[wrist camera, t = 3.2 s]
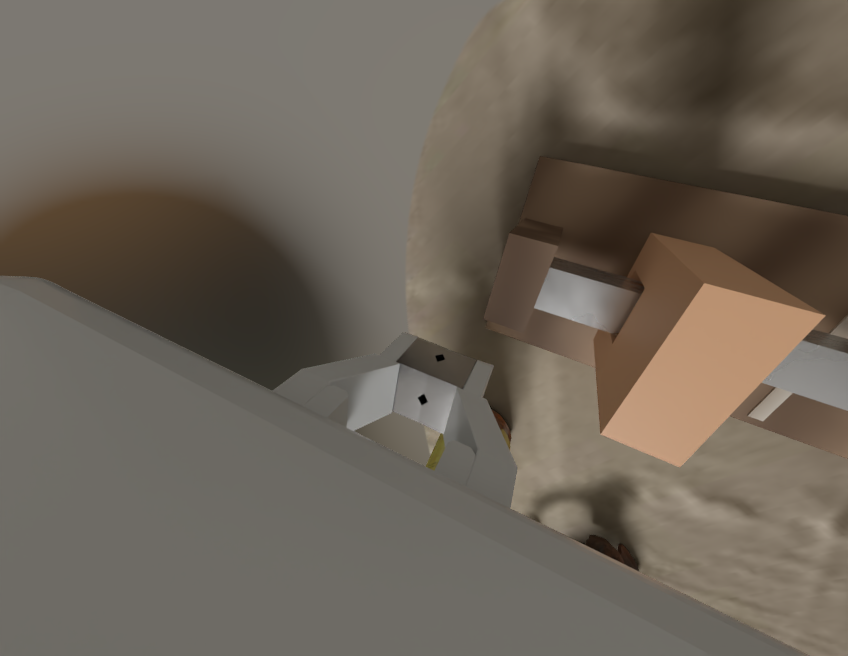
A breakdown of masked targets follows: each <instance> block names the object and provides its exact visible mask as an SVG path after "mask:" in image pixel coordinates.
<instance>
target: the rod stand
mask: <svg viewBox="0 0 848 656" xmlns="http://www.w3.org/2000/svg"><path fill="white" fill-rule="evenodd" d="M650 233H655V234H659V235H663V236H667V237H671V238H676V239H680V240H684V241H688V242H692V243H697V244H701V245H705V246H709V247H713V248H716V249H717V250H719V251H721V252H722V253H724V254H726V255H727V256H729V257H731V258H732V259H734V260H736V261H737V262H739V263H740V264H742V265H744V266H745V267H747V268H749V269H750V270H752V271H754V272H755V273H757V274H758V275H760V276H762V277H763V278H765V279H767V280H768V281H770V282H772V283H773V284H775V285H777V286H778V287H780V288H781V289H783V290H785V291H786V292H788V293H790V294H791V295H793V296H795V297H796V298H798V299H800V300H801V301H803V302H804V303H806V304H808V305H809V306H811V307H813V308H814V309H816V310H818V311H819V312H821V313H822V314H824V315H826V316H825V317H824V318H823V319H822V320H821V321H820V322H819V323H818V324H817V325H816V326H815V327H814V328H813V329H812V331H811V332H810V333H809V334H808V335H807V336H806V337H805V338H804V339H803V340H802V341H801V342H800V343H799V344H798V345H797V346H796V347H795V348H794V349H793V350H792V351H791V352H790V353H789V354H788V355H787V357H786V358H785V359H784V360H783V361H782V362H781V363H780V364H779V365H778V366H777V367H776V368H775V369H774V370H773V371H772V372H771V373H770V374H769V375H768V376H767V377H766V378H765V379H764V380H763V381H762V383H761V384H760V385H759V386H758V387H757V388H756V389H755V390H754V391H753V392H752V393H751V394H750V395H749V396H748V397H747V398H746V399H745V400H744V401H743V402H742V403H741V404H740V405H739V406H738V407H737V409H736V410H735V411H734V412H733V413H732V414H731V415H730V416H731V417H733V418H736V419H739V420H742V421H744V422H747V423H750V424H753V425H755V426H758V427H761V428H764V429H767V430H769V431H772V432H775V433H778V434H780V435H783V436H786V437H789V438H792V439H794V440H797V441H800V442H803V443H805V444H808V445H811V446H814V447H816V448H819V449H822V450H825V451H828V452H830V453H833V454H836V455H839V456H841V457H844V458H847V459H848V216H845V215H840V214H835V213H830V212H825V211H820V210H815V209H810V208H804V207H799V206H794V205H789V204H784V203H779V202H774V201H769V200H763V199H758V198H753V197H748V196H743V195H738V194H733V193H728V192H722V191H717V190H712V189H707V188H702V187H697V186H692V185H687V184H681V183H676V182H671V181H666V180H661V179H656V178H651V177H646V176H640V175H635V174H630V173H625V172H620V171H615V170H610V169H605V168H600V167H594V166H589V165H584V164H579V163H574V162H569V161H564V160H559V159H553V158H548V157H543V156H540V157H539V160H538V164H537V167H536V170H535V173H534V176H533V179H532V182H531V186H530V189H529V192H528V195H527V198H526V201H525V205H524V208H523V211H522V214H521V217H520V220H519V223H518V225H517V226H516V227H515V228H514V229H513V230H512V231H511V232H510V233H509V236H508V239H507V242H506V246H505V249H504V252H503V255H502V259H501V262H500V265H499V268H498V272H497V275H496V278H495V281H494V285H493V288H492V291H491V294H490V298H489V301H488V304H487V307H486V311H485V314H484V317H483V319H485V320H488V321H487V324H486V327H485V328H487V329H490V330H492V331H495V332H498V333H501V334H503V335H506V336H509V337H512V338H514V339H517V340H520V341H523V342H526V343H528V344H531V345H534V346H537V347H539V348H542V349H545V350H548V351H550V352H553V353H556V354H559V355H562V356H564V357H567V358H570V359H573V360H575V361H578V362H581V363H584V364H587V365H589V366H592V367H595V354H594V341H593V339H594V337H595V335H596V333H597V331H598V330H599V329H600V330H603V331H606V332H609V333H612V334H615V335H618V334H619V332H620V330H621V329H622V327H623V325H624V323H625V322H626V320H627V318H628V317H629V315H630V313H631V312H632V310H633V308H634V306H635V305H636V303H637V301H638V300H639V298H640V296H641V294H642V293H643V291H644V289H645V288H644V286H643V284H642V282H641V281H639V280H635V279H631V278H628V277H627V276H628V274H629V272H630V270H631V268H632V267H633V265H634V263H635V261H636V259H637V257H638V256H639V254H640V252H641V250H642V248H643V246H644V244H645V243H646V241H647V239H648V237H649V235H650Z"/></svg>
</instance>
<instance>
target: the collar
mask: <svg viewBox="0 0 848 656" xmlns="http://www.w3.org/2000/svg"><path fill="white" fill-rule="evenodd" d="M627 277H628V278H631V279H635V280H639V281H641V282H642V284H643V286H644V288H645V289H644V291H643V293H642V294H641V296H640V298H639V300H638V301H637V303H636V305H635V306H634V308H633V310H632V312H631V313H630V315H629V317H628V318H627V320H626V322H625V323H624V325H623V327H622V329H621V330H620V332H619V334H618V335H615V334H612V333H609V332H606V331H603V330H600V329H599V330H598V331H597V333H596V335H595V337H594V339H593V341H594V354H595V368H596V381H597V394H598V408H599V421H600V434H601V435H603V436H606V437H608V438H610V439H613V440H615V441H618V442H620V443H622V444H625V445H627V446H630V447H632V448H634V449H637V450H639V451H642V452H644V453H647V454H649V455H651V456H654V457H656V458H659V459H661V460H663V461H666V462H668V463H671V464H673V465H676V466H678V467H681V466H682V465H683V464H684V463H685V462H686V461H687V460H688V458H689V457H690V456H691V455H692V454H693V453H694V452H695V451H696V450H697V449H698V448H699V447H700V446H701V445H702V444H703V443H704V442H705V441H706V440H707V439H708V438H709V437H710V436H711V435H712V434H713V432H714V431H715V430H716V429H717V428H718V427H719V426H720V425H721V424H722V423H723V422H724V421H725V420H726V419H727V418H728V417H729V416H730V415H731V414H732V413H733V412H734V411H735V410H736V409H737V407H738V406H739V405H740V404H741V403H742V402H743V401H744V400H745V399H746V398H747V397H748V396H749V395H750V394H751V393H752V392H753V391H754V390H755V389H756V388H757V387H758V386H759V385H760V384H761V383H762V381H763V380H764V379H765V378H766V377H767V376H768V375H769V374H770V373H771V372H772V371H773V370H774V369H775V368H776V367H777V366H778V365H779V364H780V363H781V362H782V361H783V360H784V359H785V358H786V357H787V355H788V354H789V353H790V352H791V351H792V350H793V349H794V348H795V347H796V346H797V345H798V344H799V343H800V342H801V341H802V340H803V339H804V338H805V337H806V336H807V335H808V334H809V333H810V332H811V331H812V329H813V328H814V327H815V326H816V325H817V324H818V323H819V322H820V321H821V320H822V319H823V318H824V317H825V316H826V315H824V314H822V313H821V312H819V311H818V310H816V309H814V308H813V307H811V306H809V305H808V304H806V303H804V302H803V301H801V300H800V299H798V298H796V297H795V296H793V295H791V294H790V293H788V292H786V291H785V290H783V289H781V288H780V287H778V286H777V285H775V284H773V283H772V282H770V281H768V280H767V279H765V278H763V277H762V276H760V275H758V274H757V273H755V272H754V271H752V270H750V269H749V268H747V267H745V266H744V265H742V264H740V263H739V262H737V261H736V260H734V259H732V258H731V257H729V256H727V255H726V254H724V253H722V252H721V251H719V250H717V249H716V248H713V247H709V246H705V245H701V244H697V243H692V242H688V241H684V240H680V239H676V238H671V237H667V236H663V235H659V234H655V233H650V235H649V237H648V239H647V241H646V243H645V244H644V246H643V248H642V250H641V252H640V254H639V256H638V257H637V259H636V261H635V263H634V265H633V267H632V268H631V270H630V272H629V274H628V276H627Z"/></svg>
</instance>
